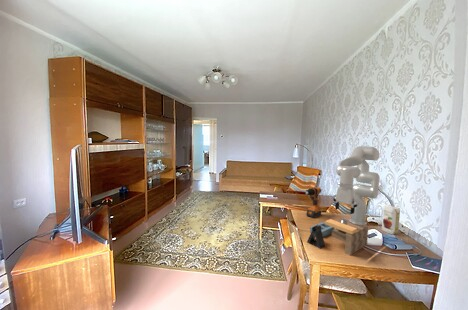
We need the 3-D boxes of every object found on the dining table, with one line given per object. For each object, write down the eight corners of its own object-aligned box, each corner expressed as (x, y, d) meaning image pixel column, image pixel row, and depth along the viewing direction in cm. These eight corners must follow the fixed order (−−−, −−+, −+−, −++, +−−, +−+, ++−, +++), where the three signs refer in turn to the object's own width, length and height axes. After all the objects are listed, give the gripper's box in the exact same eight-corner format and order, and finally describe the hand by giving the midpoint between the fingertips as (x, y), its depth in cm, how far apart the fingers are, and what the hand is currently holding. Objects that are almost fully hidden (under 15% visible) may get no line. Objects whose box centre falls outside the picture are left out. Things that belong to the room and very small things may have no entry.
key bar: (330, 222, 127) (330, 219, 127) (356, 231, 114) (357, 228, 114) (325, 224, 124) (325, 221, 124) (351, 234, 111) (352, 231, 111)
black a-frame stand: (325, 245, 123) (326, 227, 122) (320, 248, 120) (321, 229, 119) (311, 239, 130) (312, 222, 129) (306, 242, 127) (307, 224, 126)
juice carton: (386, 228, 149) (388, 204, 148) (399, 233, 141) (401, 208, 140) (380, 230, 147) (382, 205, 145) (392, 235, 139) (395, 209, 137)
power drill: (309, 220, 162) (311, 190, 160) (301, 217, 168) (303, 189, 166) (322, 214, 175) (324, 187, 173) (314, 212, 181) (316, 185, 179)
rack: (322, 228, 148) (322, 221, 147) (334, 233, 140) (334, 226, 140) (309, 233, 139) (310, 226, 138) (321, 239, 131) (322, 232, 131)
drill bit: (341, 235, 135) (342, 218, 134) (347, 237, 132) (348, 220, 131) (338, 236, 133) (339, 219, 132) (344, 239, 130) (345, 221, 129)
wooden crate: (339, 233, 140) (340, 216, 138) (367, 245, 125) (369, 225, 124) (320, 242, 126) (321, 223, 125) (350, 256, 112) (351, 235, 111)
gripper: (330, 184, 135) (328, 208, 136) (357, 189, 120) (355, 216, 121) (336, 183, 139) (334, 206, 140) (363, 188, 125) (361, 214, 126)
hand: (344, 211), depth 131 cm, fingers open, 9 cm apart
